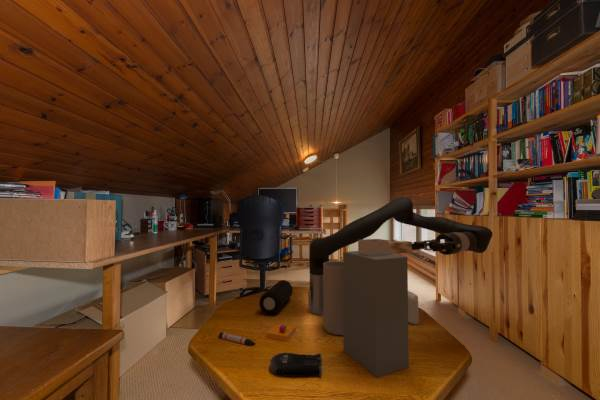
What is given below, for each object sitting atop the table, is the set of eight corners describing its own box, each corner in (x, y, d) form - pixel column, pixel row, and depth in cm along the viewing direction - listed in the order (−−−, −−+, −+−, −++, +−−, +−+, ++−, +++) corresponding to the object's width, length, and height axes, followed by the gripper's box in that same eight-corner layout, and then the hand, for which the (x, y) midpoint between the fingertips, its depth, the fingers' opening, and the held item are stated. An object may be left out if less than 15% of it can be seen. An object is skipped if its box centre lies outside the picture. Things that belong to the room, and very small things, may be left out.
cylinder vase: (329, 320, 112) (329, 260, 113) (359, 325, 106) (358, 262, 107) (318, 332, 101) (318, 265, 102) (350, 339, 95) (350, 268, 96)
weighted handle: (402, 250, 93) (402, 237, 93) (414, 252, 88) (414, 239, 88) (358, 253, 85) (358, 239, 85) (368, 256, 80) (368, 241, 80)
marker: (218, 339, 95) (218, 333, 95) (222, 336, 97) (222, 331, 97) (254, 348, 89) (254, 342, 89) (257, 346, 90) (257, 340, 90)
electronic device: (319, 364, 82) (271, 356, 82) (322, 348, 81) (274, 340, 82) (320, 389, 73) (266, 379, 73) (323, 370, 72) (268, 360, 73)
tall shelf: (372, 342, 92) (371, 250, 94) (408, 367, 78) (407, 257, 79) (343, 350, 87) (343, 251, 89) (376, 377, 73) (375, 259, 74)
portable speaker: (275, 297, 142) (276, 278, 142) (293, 298, 139) (294, 279, 140) (257, 315, 117) (257, 292, 117) (278, 317, 115) (279, 293, 115)
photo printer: (392, 317, 115) (391, 288, 115) (397, 315, 117) (397, 287, 118) (415, 325, 107) (414, 294, 107) (420, 323, 109) (419, 292, 110)
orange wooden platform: (266, 339, 96) (266, 326, 96) (276, 329, 103) (276, 318, 103) (287, 342, 93) (287, 330, 93) (295, 333, 100) (295, 321, 101)
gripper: (433, 232, 102) (403, 236, 95) (471, 232, 90) (440, 236, 82) (435, 252, 102) (405, 257, 94) (474, 254, 89) (442, 260, 82)
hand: (421, 247), depth 88 cm, fingers open, 8 cm apart
